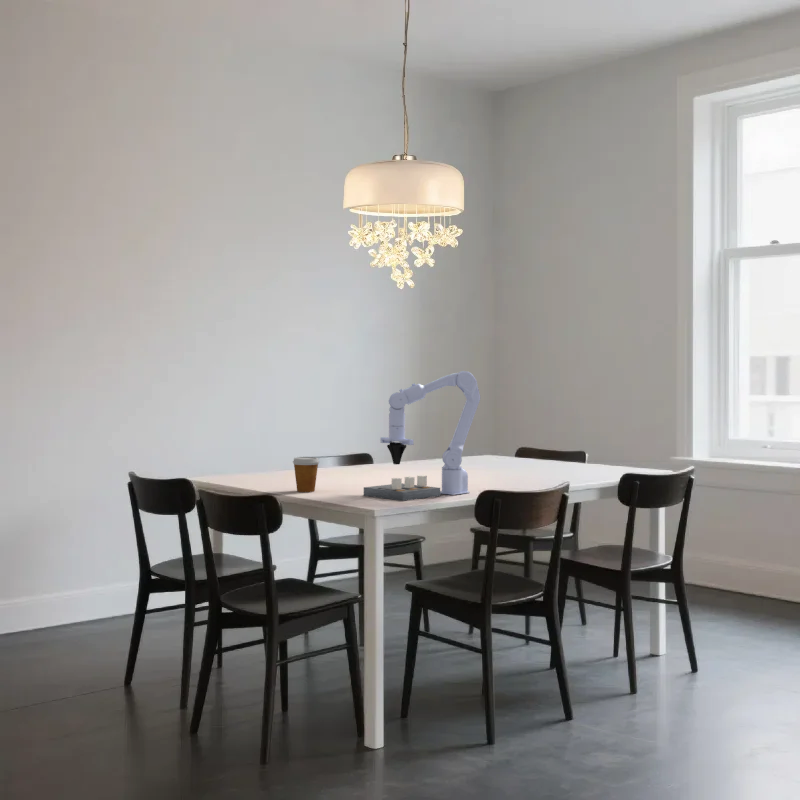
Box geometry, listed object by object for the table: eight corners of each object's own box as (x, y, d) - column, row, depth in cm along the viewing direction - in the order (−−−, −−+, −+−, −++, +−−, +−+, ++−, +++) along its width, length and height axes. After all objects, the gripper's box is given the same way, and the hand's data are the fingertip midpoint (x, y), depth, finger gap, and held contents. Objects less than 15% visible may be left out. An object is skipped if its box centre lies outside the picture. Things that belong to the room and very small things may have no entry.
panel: (400, 491, 378) (400, 482, 378) (440, 496, 365) (440, 487, 365) (363, 495, 364) (363, 486, 364) (403, 500, 351) (403, 491, 351)
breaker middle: (409, 486, 364) (409, 476, 363) (414, 487, 362) (414, 477, 362) (404, 487, 362) (404, 477, 362) (409, 487, 360) (409, 477, 360)
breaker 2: (421, 485, 368) (421, 475, 368) (426, 485, 367) (426, 475, 367) (417, 485, 367) (417, 475, 366) (422, 486, 365) (422, 476, 365)
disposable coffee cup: (311, 493, 369) (312, 459, 369) (287, 492, 372) (288, 458, 372) (323, 490, 378) (323, 457, 377) (300, 489, 381) (300, 456, 381)
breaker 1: (396, 487, 359) (396, 477, 359) (401, 488, 357) (401, 478, 357) (391, 488, 357) (391, 478, 357) (396, 489, 356) (396, 478, 355)
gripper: (374, 425, 373) (374, 463, 374) (404, 427, 363) (403, 466, 364) (388, 424, 378) (387, 462, 379) (417, 426, 368) (417, 465, 369)
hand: (396, 464), depth 371 cm, fingers closed
